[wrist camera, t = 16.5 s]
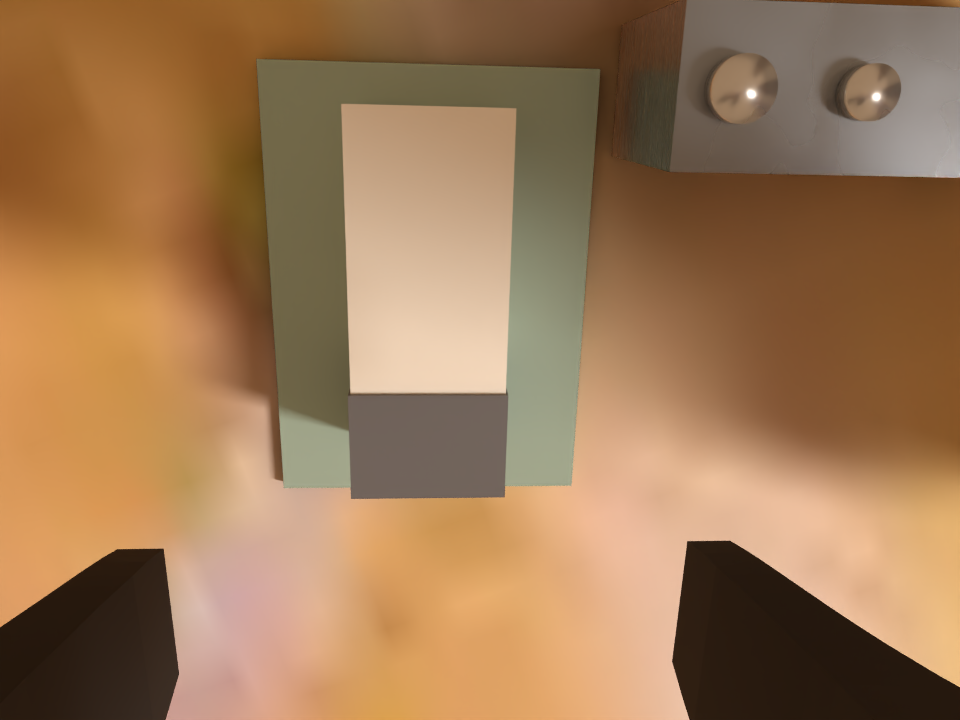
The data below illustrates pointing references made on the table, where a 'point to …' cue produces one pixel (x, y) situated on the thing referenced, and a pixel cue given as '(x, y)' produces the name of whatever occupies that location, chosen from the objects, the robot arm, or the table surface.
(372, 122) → the plug
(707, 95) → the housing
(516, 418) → the mat
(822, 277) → the table surface
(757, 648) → the robot arm
